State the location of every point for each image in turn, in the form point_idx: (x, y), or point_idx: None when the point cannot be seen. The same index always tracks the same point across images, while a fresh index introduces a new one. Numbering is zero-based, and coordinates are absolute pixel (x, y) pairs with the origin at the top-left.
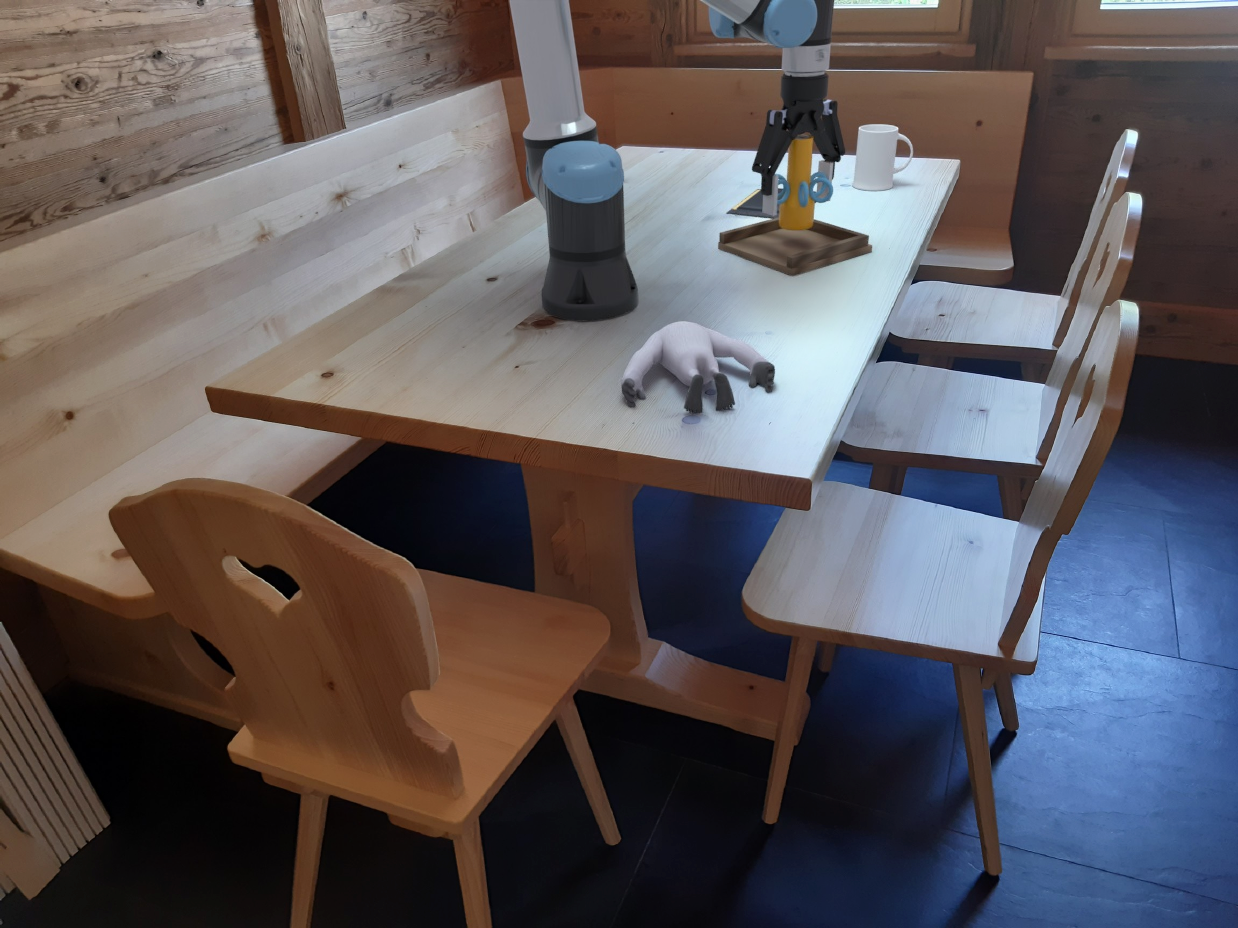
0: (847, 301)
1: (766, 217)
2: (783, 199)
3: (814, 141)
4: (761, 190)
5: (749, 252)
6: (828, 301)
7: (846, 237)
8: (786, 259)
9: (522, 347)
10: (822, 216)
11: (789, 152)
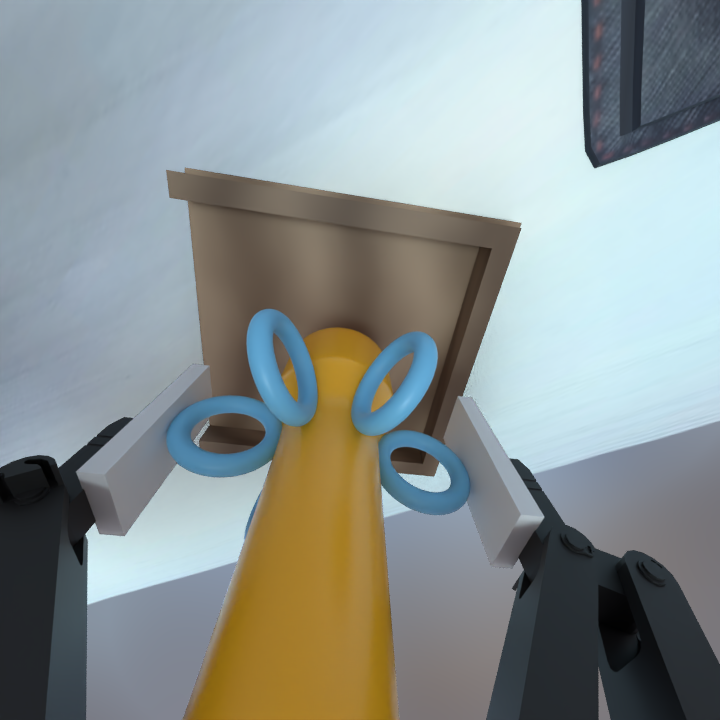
0: (211, 529)
1: (586, 37)
2: (257, 419)
3: (527, 676)
4: (104, 432)
5: (204, 309)
6: (188, 515)
7: (429, 427)
8: None
9: None
10: (669, 211)
11: (216, 622)
